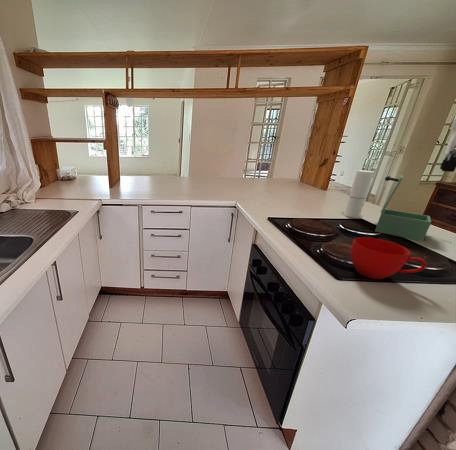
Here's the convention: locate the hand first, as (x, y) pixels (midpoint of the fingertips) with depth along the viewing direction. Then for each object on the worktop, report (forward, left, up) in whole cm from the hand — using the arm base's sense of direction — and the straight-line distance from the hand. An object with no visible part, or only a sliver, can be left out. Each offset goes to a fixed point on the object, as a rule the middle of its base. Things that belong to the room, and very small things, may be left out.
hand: (446, 170), depth 96 cm
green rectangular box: (+5, +4, -29) cm, 30 cm away
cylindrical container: (+30, 0, -30) cm, 42 cm away
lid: (+10, +7, -12) cm, 17 cm away
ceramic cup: (-21, +55, -30) cm, 66 cm away
